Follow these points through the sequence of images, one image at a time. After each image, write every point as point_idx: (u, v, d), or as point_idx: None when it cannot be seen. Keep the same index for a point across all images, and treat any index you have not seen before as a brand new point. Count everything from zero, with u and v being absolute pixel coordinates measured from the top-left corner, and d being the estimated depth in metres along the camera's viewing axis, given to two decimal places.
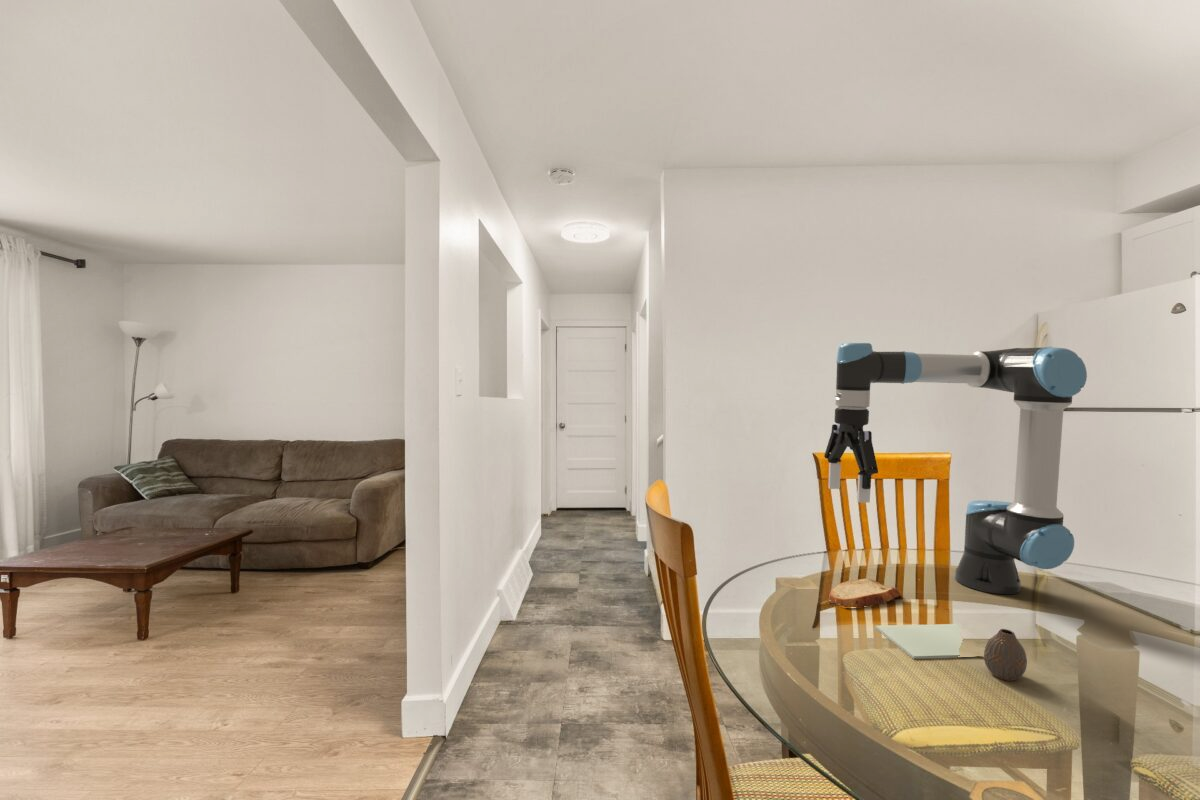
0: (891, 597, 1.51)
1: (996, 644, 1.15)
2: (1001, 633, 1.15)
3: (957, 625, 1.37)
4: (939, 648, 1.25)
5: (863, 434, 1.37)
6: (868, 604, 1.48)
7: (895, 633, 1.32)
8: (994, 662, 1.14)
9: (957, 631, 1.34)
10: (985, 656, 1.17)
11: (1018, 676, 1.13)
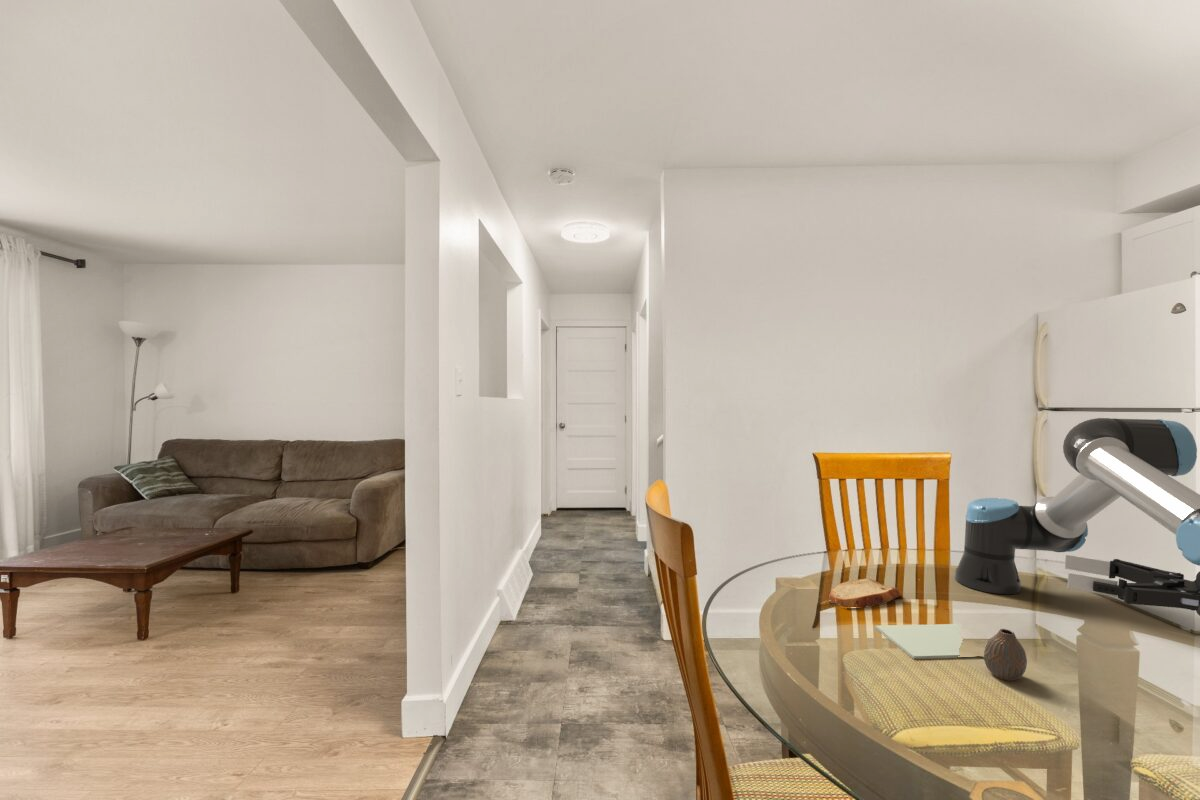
0: (891, 597, 1.51)
1: (996, 644, 1.15)
2: (1001, 633, 1.15)
3: (957, 625, 1.37)
4: (939, 648, 1.25)
5: None
6: (868, 604, 1.48)
7: (895, 633, 1.32)
8: (994, 662, 1.14)
9: (957, 631, 1.34)
10: (985, 656, 1.17)
11: (1018, 676, 1.13)
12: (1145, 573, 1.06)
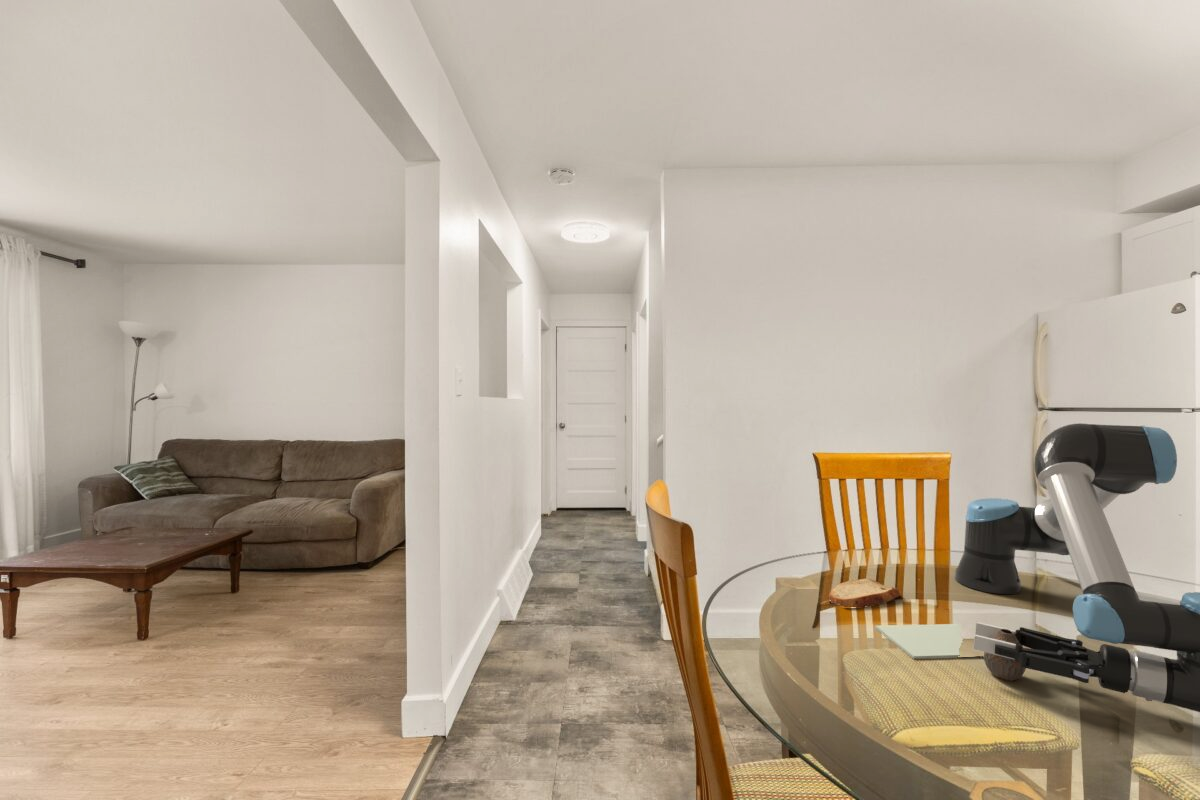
0: (891, 597, 1.51)
1: None
2: (1001, 633, 1.15)
3: (957, 625, 1.37)
4: (939, 648, 1.25)
5: None
6: (868, 604, 1.48)
7: (895, 633, 1.32)
8: (994, 661, 1.14)
9: (957, 631, 1.34)
10: (985, 656, 1.17)
11: (1018, 676, 1.13)
12: (1052, 644, 1.13)
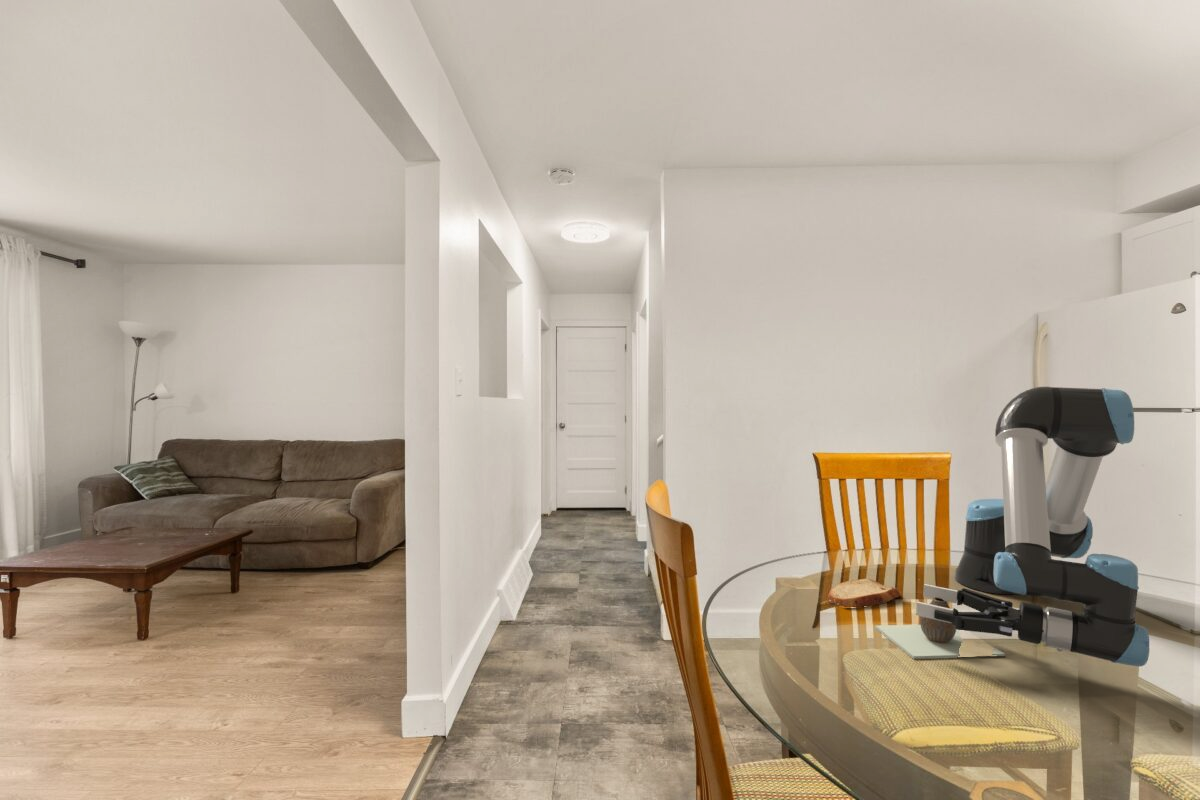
0: (891, 597, 1.51)
1: None
2: (934, 601, 1.29)
3: None
4: (939, 648, 1.25)
5: None
6: (867, 604, 1.48)
7: (895, 633, 1.32)
8: (928, 626, 1.28)
9: (957, 631, 1.34)
10: (920, 622, 1.30)
11: (948, 638, 1.27)
12: (982, 602, 1.28)
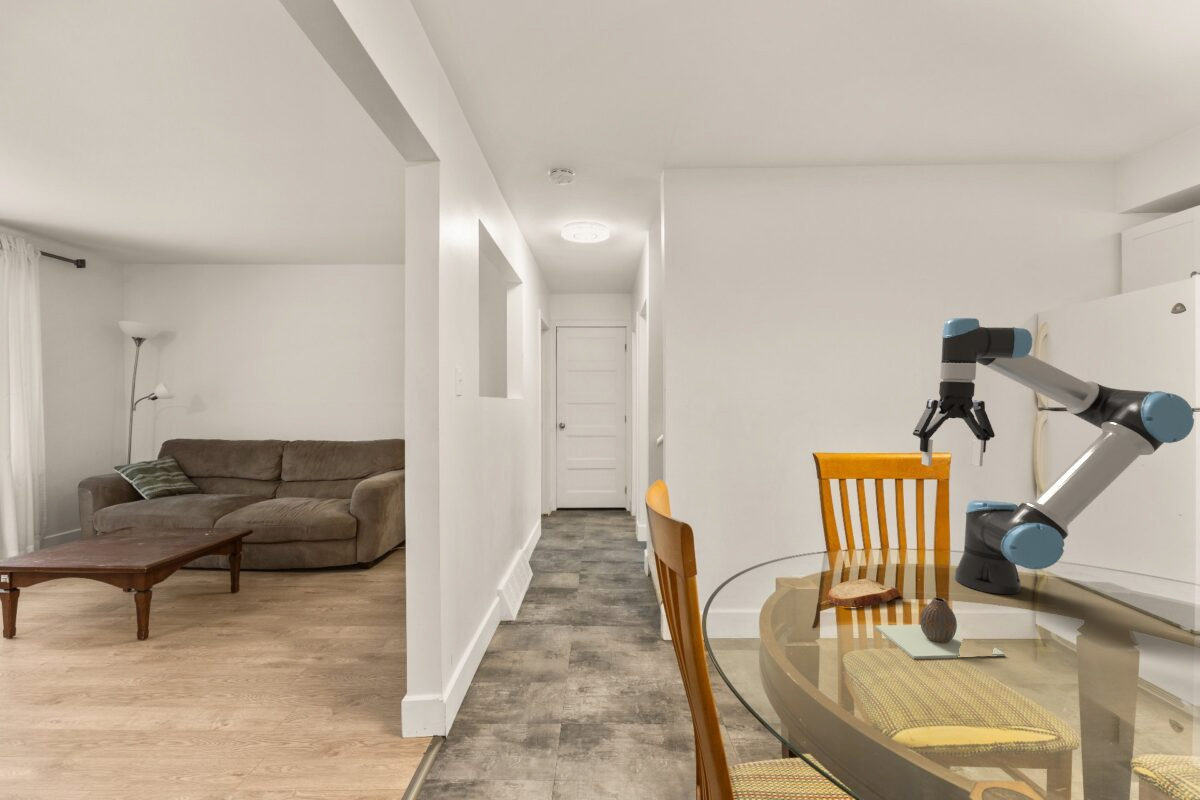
0: (890, 597, 1.51)
1: (930, 610, 1.29)
2: (934, 601, 1.29)
3: (957, 625, 1.37)
4: (939, 648, 1.25)
5: (928, 402, 1.50)
6: (867, 604, 1.48)
7: (895, 633, 1.32)
8: (928, 626, 1.28)
9: (957, 631, 1.34)
10: (920, 622, 1.30)
11: (948, 638, 1.27)
12: (943, 421, 1.49)
